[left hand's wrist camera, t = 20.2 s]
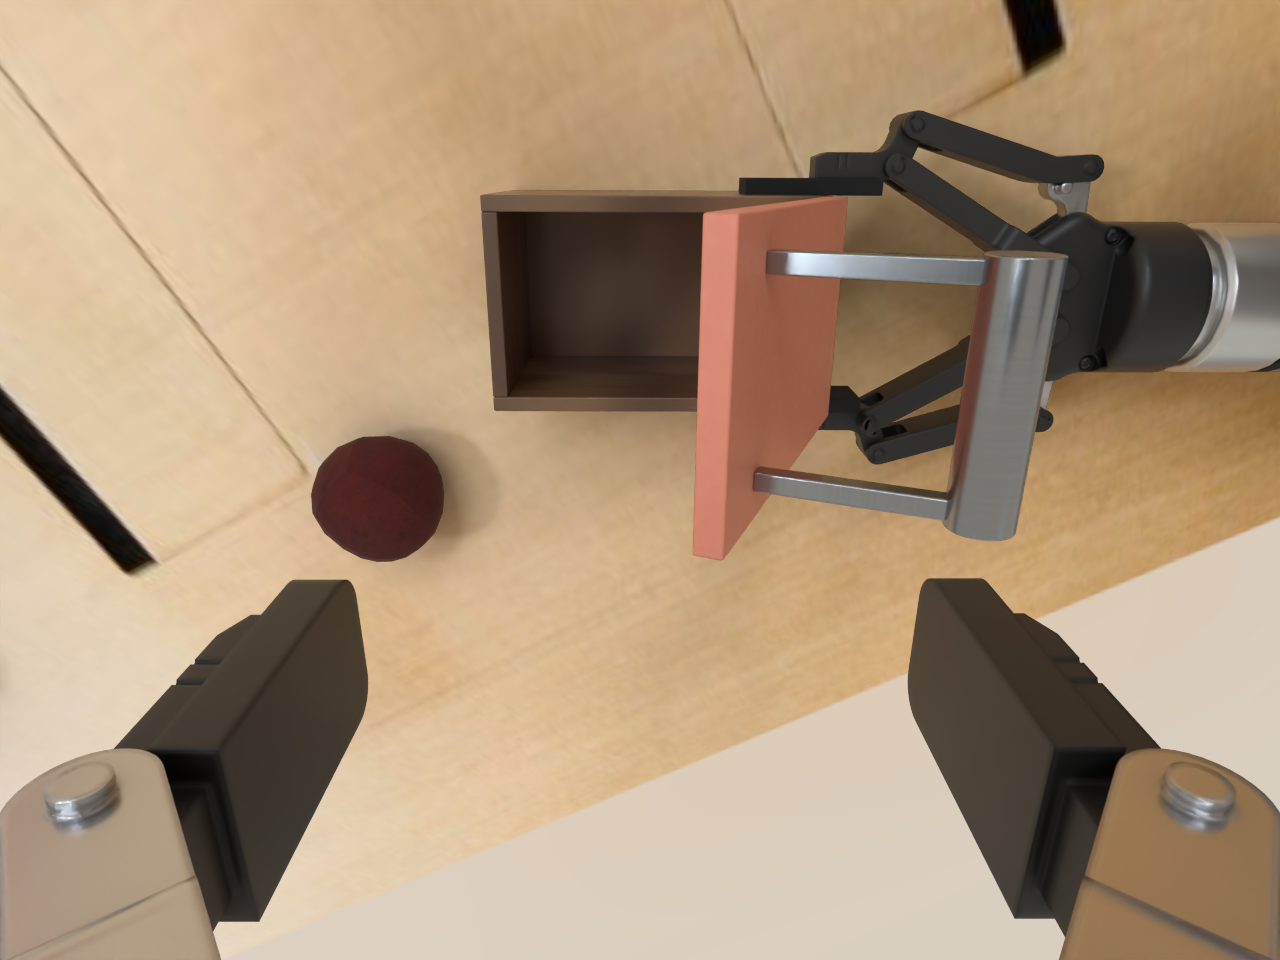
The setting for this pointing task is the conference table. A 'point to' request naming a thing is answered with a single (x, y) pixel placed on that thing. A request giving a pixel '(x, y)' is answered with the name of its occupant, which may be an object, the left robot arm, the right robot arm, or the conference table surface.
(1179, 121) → the conference table surface
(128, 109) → the conference table surface
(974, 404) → the lid
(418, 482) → the dark red ball
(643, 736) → the conference table surface
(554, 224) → the chest
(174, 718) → the left robot arm
